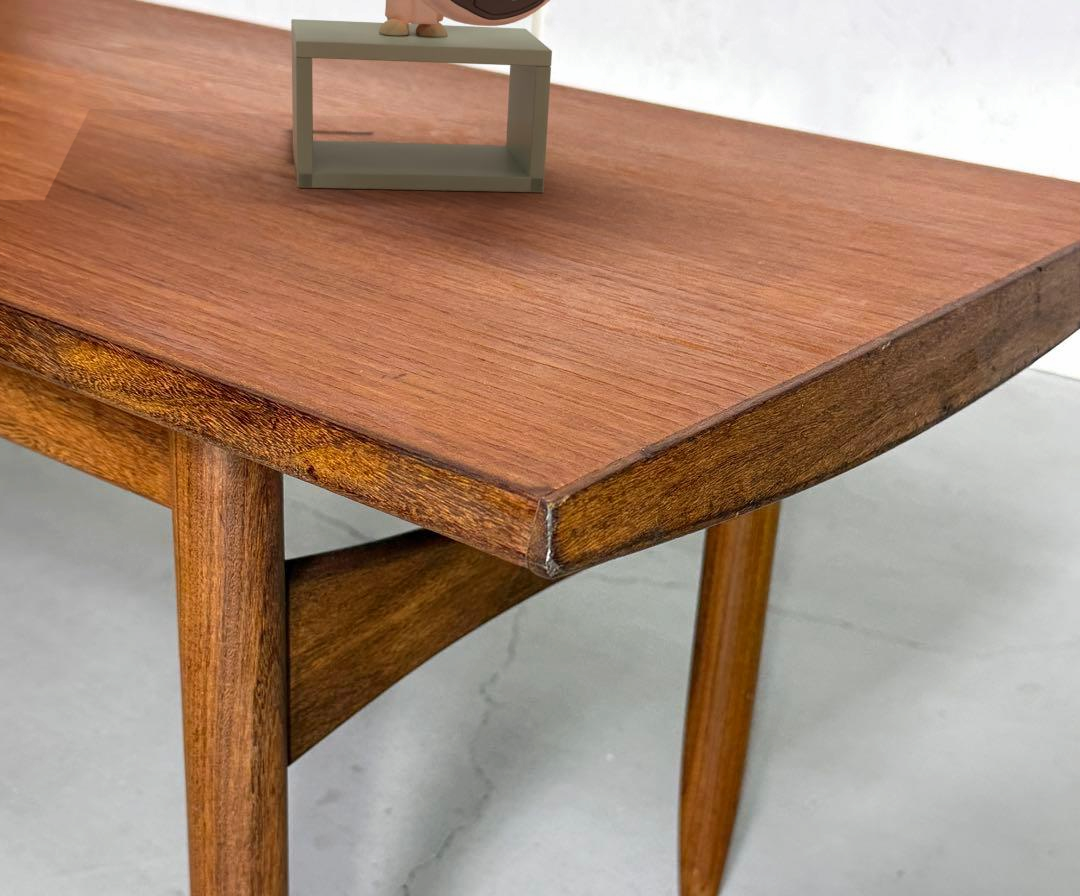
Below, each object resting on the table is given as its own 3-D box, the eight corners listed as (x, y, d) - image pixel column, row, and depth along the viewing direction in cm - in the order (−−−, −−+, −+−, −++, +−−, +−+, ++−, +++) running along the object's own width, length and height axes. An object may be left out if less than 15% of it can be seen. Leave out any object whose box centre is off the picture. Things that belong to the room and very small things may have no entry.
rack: (297, 187, 95) (295, 40, 91) (293, 154, 104) (291, 18, 100) (543, 192, 98) (552, 50, 94) (519, 159, 106) (526, 28, 103)
